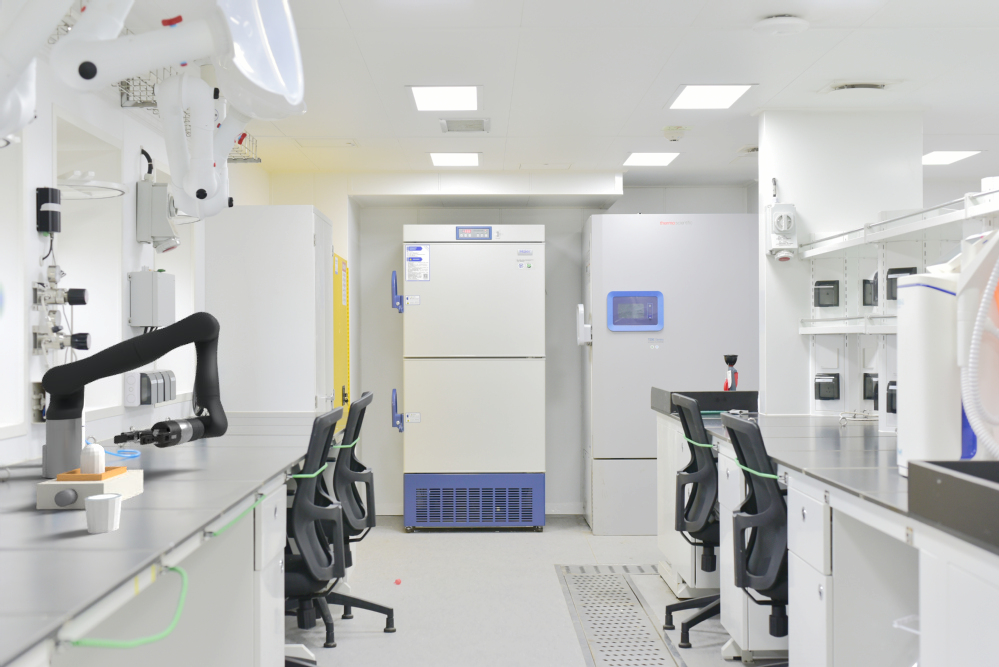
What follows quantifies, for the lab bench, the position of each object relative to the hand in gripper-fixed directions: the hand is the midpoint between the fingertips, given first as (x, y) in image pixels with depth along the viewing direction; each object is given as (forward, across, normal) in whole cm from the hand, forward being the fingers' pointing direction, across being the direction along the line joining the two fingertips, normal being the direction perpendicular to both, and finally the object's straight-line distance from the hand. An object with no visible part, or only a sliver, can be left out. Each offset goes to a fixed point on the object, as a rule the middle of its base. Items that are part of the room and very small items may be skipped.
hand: (127, 440), depth 183 cm
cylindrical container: (-30, -52, +14) cm, 61 cm away
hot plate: (+13, +1, +14) cm, 19 cm away
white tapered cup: (+34, +26, +14) cm, 44 cm away
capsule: (+11, 0, +8) cm, 14 cm away
